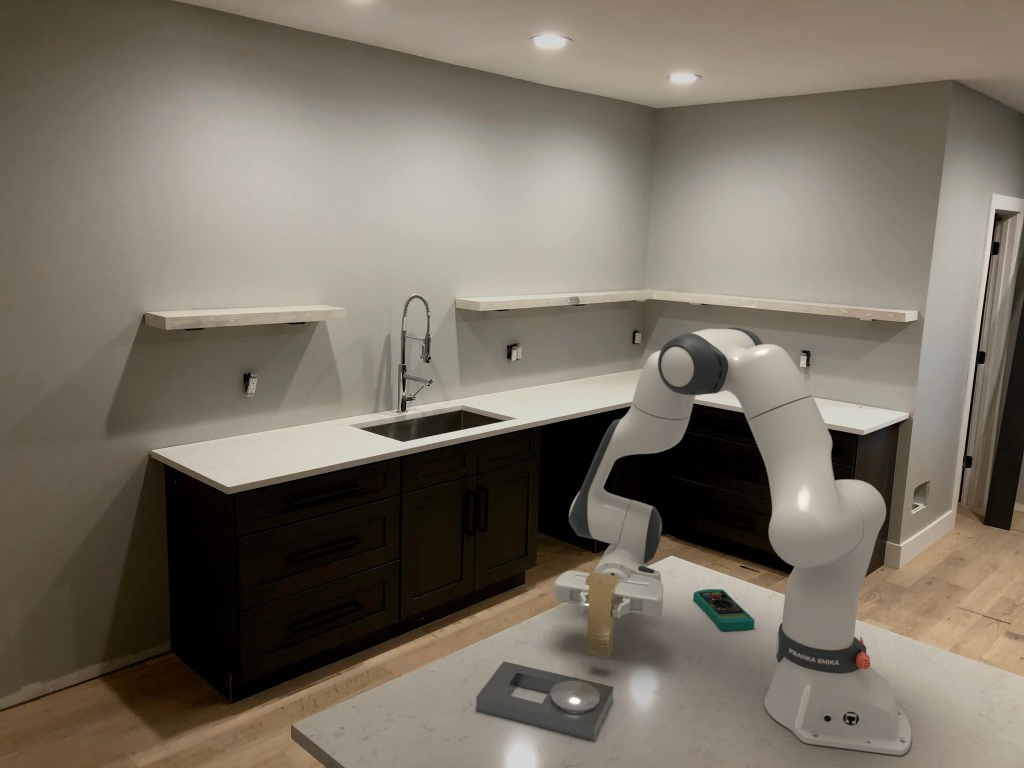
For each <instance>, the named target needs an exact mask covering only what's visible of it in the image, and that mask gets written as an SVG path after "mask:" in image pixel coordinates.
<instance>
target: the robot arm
mask: <svg viewBox="0 0 1024 768" xmlns="http://www.w3.org/2000/svg"><path fill="white" fill-rule="evenodd" d="M725 391H726V392H729V393H731V394H732V395H733V396H735V398H736V399H737V400H738V402H739V404H740V406H741V408H742V410H743V414H744V416H745V418H746V422H747V423H748V425H749V428H750V430H751V433H752V435H753V438H754V440H755V443H756V445H757V448H758V450H759V453H760V455H761V458H762V460H763V462H764V466H765V469H766V473H767V478H768V483H769V489H770V490H769V491H770V498H771V508H772V509H771V517H770V521H769V525H768V539H769V542H770V545H771V546H772V549H773V550H774V552H775V553H776V554H777V556H778V557H779V558H780V559H781V560H782V561H784V562H785V563H786V564H789V565H791V566H793V569H792V571H791V572H790V574H789V576H788V578H787V580H786V584H785V591H784V602H783V611H782V612H783V613H782V621H781V623H780V624H779V628H778V631H777V637H776V644H775V645H776V646H775V655H776V656H775V657H776V663H775V664H776V665H775V668H774V672H773V675H772V679H771V683H770V685H769V688H768V691H767V693H766V694H765V696H764V699H763V704H764V707H765V709H766V711H767V713H768V714H769V715H770V716H771V718H773V719H774V720H775V721H776V722H778V723H779V724H781V725H782V726H783V727H786V728H787V729H789V730H790V731H792V733H793V734H794V735H795V736H796V737H797V738H798V739H799V740H800V741H801V742H803V743H804V744H805V743H806V744H808V745H816V746H823V747H832V748H838V749H845V750H846V749H848V750H855V751H862V752H870V753H876V754H877V753H879V754H885V755H892V756H903V755H905V754H906V753H907V752H908V751H909V750H910V748H911V746H912V745H911V744H912V729H911V723H910V722H909V721H910V720H909V719H908V717H907V715H906V714H905V713H904V711H903V710H902V709H901V708H900V707H899V706H898V701H897V698H896V697H897V696H896V695H895V692H894V690H893V688H892V686H891V683H890V682H889V681H888V679H886V678H885V677H883V676H882V675H881V674H880V673H879V672H878V671H877V670H875V669H874V668H873V667H872V666H871V658H870V655H868V654H867V646H866V645H865V643H864V640H863V638H862V636H860V637H859V639H858V638H857V637H856V636H855V633H856V632H855V631H856V626H857V625H856V624H857V615H858V608H859V607H858V606H859V600H860V595H861V592H862V591H861V590H862V588H863V585H864V581H865V578H866V576H867V571H868V569H869V565H870V563H871V559H872V556H873V553H874V549H875V548H874V547H875V545H876V541H877V537H878V535H879V533H880V530H881V528H882V526H883V525H884V523H885V520H886V517H887V506H886V503H885V500H884V498H883V496H882V494H881V493H880V492H879V491H878V490H877V489H876V488H875V487H874V486H873V485H872V484H870V483H868V482H866V481H863V480H861V479H860V480H858V479H849V478H848V479H836V480H835V476H834V470H833V463H832V449H833V439H832V436H831V433H830V432H829V429H828V427H827V425H826V423H825V419H824V418H823V416H822V414H821V412H820V409H819V407H818V404H817V402H816V400H815V397H814V396H813V394H812V391H811V390H810V387H809V386H808V384H807V382H806V380H805V378H804V376H803V375H802V373H801V371H800V370H799V368H798V367H797V365H796V363H795V362H794V361H793V359H792V358H791V356H790V355H789V353H788V352H787V351H786V350H785V349H784V348H783V347H782V346H779V345H778V344H774V343H773V344H771V343H764V342H762V340H761V337H759V336H758V335H757V334H755V333H754V332H753V331H750V330H748V329H745V328H740V327H728V328H706V329H702V330H697V331H693V332H687V333H682V334H679V335H677V336H675V337H673V338H672V339H670V340H669V341H667V343H665V344H664V346H662V347H661V350H657V351H655V352H653V353H652V354H651V355H649V356H648V358H647V359H646V362H645V364H644V365H643V368H642V370H641V373H640V375H639V377H638V381H637V384H636V387H635V390H634V395H633V398H632V403H631V406H630V408H629V409H628V411H627V413H626V414H625V415H624V416H623V417H622V418H619V419H614V420H613V421H612V422H611V423H610V425H609V426H608V427H607V430H606V432H605V434H603V437H602V439H601V442H600V443H599V446H598V448H597V450H596V452H595V455H594V457H593V459H592V461H591V464H590V467H589V469H588V472H587V474H586V476H585V479H584V482H583V483H582V484H581V485H582V486H581V488H580V490H579V491H578V492H577V494H576V495H575V497H574V499H573V501H572V503H571V505H570V508H569V513H568V522H569V524H570V526H571V528H572V529H573V531H574V532H575V534H576V535H577V536H579V537H581V538H587V539H591V540H597V541H600V542H604V543H607V544H610V545H609V546H608V547H607V548H606V550H605V551H604V552H603V554H602V556H601V559H600V560H599V561H598V563H597V565H596V567H595V569H594V571H593V572H596V573H602V574H607V575H613V576H619V577H620V578H619V583H618V585H617V586H616V588H615V605H613V608H612V617H614V619H621V617H622V616H623V615H627V614H629V613H630V614H635V615H641V616H649V617H654V618H656V617H660V616H662V614H663V607H664V584H663V582H662V576H661V571H658V570H656V569H654V568H650V567H647V564H648V563H649V562H651V561H652V560H653V559H654V558H655V555H656V552H657V550H658V548H659V544H660V541H661V537H662V534H663V533H662V532H663V525H664V524H663V520H662V517H661V516H660V513H659V511H658V509H657V508H656V507H655V506H652V505H649V504H647V503H643V502H641V501H637V500H634V499H629V498H626V497H622V496H619V495H616V494H613V493H610V492H608V491H606V489H605V488H604V486H605V484H606V482H607V479H608V477H609V475H610V472H611V471H612V468H613V467H614V463H615V462H616V461H617V460H618V459H620V458H623V457H627V456H631V455H647V454H648V455H649V454H657V453H661V452H664V451H666V450H670V449H671V448H673V447H675V446H676V445H677V444H679V443H680V442H681V440H682V439H683V437H684V435H685V433H686V430H687V429H688V425H689V422H690V420H691V419H690V418H691V414H692V410H693V407H694V401H695V399H696V396H703V395H713V394H718V393H719V392H725ZM590 573H591V572H585V571H579V570H567V571H565V572H563V573H562V574H560V575H559V576H558V577H557V579H555V581H554V584H553V598H554V599H555V601H557V602H560V603H564V604H567V603H568V604H573V605H578V606H580V607H581V608H580V613H583V614H588V603H589V585H585V583H586V578H587V577H588V575H589V574H590Z"/></svg>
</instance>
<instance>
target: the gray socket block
mask: <svg viewBox="0 0 1024 768" xmlns="http://www.w3.org/2000/svg"><path fill="white" fill-rule="evenodd" d="M516 687H521V688H524V689H528V690H534V691H538V692H540V693H546V694H547V695H546V696H545V698H544V699H543V701H542V703H541V702H537V701H534V700H529V699H525V698H520V697H517V696H513V695H512V693H513V692H514V690H515V689H516ZM614 687H615V686H611V685H607V684H603V683H599V682H595V681H589V680H586V679H581V678H577V677H574V676H567V675H564V674H560V673H556V672H552V671H547V670H543V669H539V668H534V667H529V666H525V665H522V664H516V663H514V662H507V661H504V660H503V662H502V663H501V664H500V665H499V666H498V667H497V669H496V670H495V672H494V673H493V674H492V676H491V677H490V678H489V680H488V681H487V682H486V683H485V685H484V686H483V687H482V689H480V691H479V692H478V693H477V695H476V697H475V699H476V700H475V701H476V703H475V704H476V705H475V706H476V707H475V711H476V712H480V713H484V714H488V715H491V716H495V717H499V718H504V719H507V720H511V721H515V722H519V723H523V724H526V725H530V726H534V727H538V728H543V729H546V730H550V731H553V732H554V731H555V732H556V733H557V732H558V733H561V734H566V735H569V736H573V737H577V738H581V739H585V740H588V741H593V742H595V740H596V738H597V735H598V733H599V731H600V729H601V726H602V724H603V722H604V721H605V718H606V716H607V715H608V712H609V710H610V707H611V705H612V703H613V701H614V691H615V690H614ZM512 691H513V692H512Z"/></svg>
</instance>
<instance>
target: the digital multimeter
mask: <svg viewBox="0 0 1024 768" xmlns="http://www.w3.org/2000/svg"><path fill="white" fill-rule="evenodd" d="M692 600H693V602H694V603H695V604H696V605H697V606H698V607H699V608H700V609H701V610H702V611H703V612H704V613H705V614H706V615H707V616H708V617H709V619H710V620H711V621H712V622H713V624H714V625H716V627H717V628H718V629H719V631H721V632H738V631H740V632H741V631H749V630H753V629H755V622H756V621H755V619H754V618H753V617H752V616H751V615H750V614H749V613H747V611H746V610H744V608H742V607H741V606H740V604H738V603H737V602H736V601H735V600H734V599H733V598H732V597H731V596H730V595H729V593H728V592H727V591H725V589H722V588H721V589H720V588H708V589H707V588H705V589H700V590H697V591H695V592H693V598H692Z"/></svg>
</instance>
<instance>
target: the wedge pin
mask: <svg viewBox="0 0 1024 768" xmlns="http://www.w3.org/2000/svg"><path fill="white" fill-rule="evenodd" d="M589 573H590V574H589V575H588V577H587V578H586V583H585V585H589V603H588V613H587V631H586V632H587V636H586V638H587V639H586V654H590V655H594V656H599V657H602V658H609V657H610V656H611V653H612V652H613V648H614V629H615V628H614V627H615V626H614V625H615V618H614V617H612V608H613V605H615V588H616V586H617V585H618V583H619V578H620V577H619V576H613V575H607V574H602V573H596V572H594V571H590V572H589Z"/></svg>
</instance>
